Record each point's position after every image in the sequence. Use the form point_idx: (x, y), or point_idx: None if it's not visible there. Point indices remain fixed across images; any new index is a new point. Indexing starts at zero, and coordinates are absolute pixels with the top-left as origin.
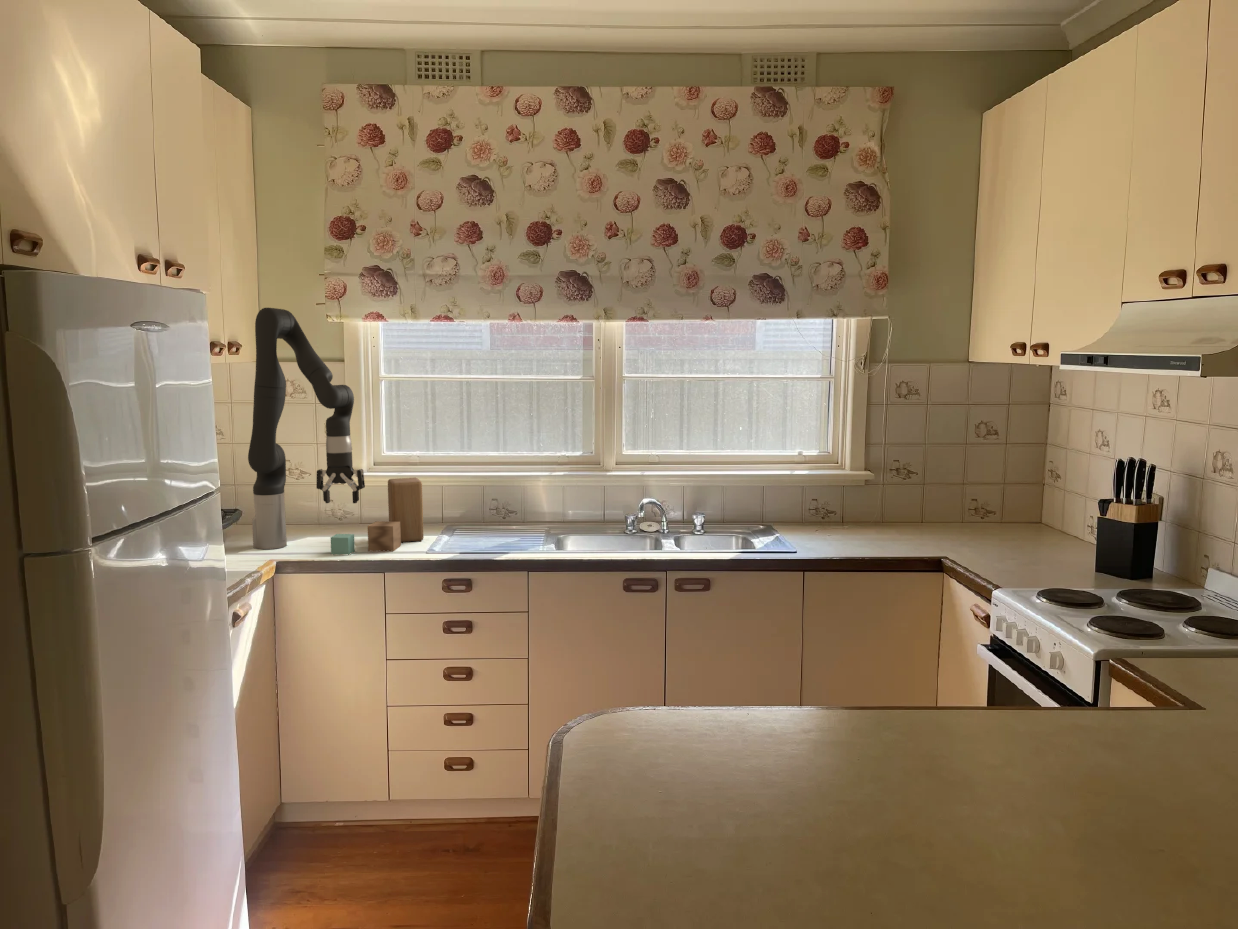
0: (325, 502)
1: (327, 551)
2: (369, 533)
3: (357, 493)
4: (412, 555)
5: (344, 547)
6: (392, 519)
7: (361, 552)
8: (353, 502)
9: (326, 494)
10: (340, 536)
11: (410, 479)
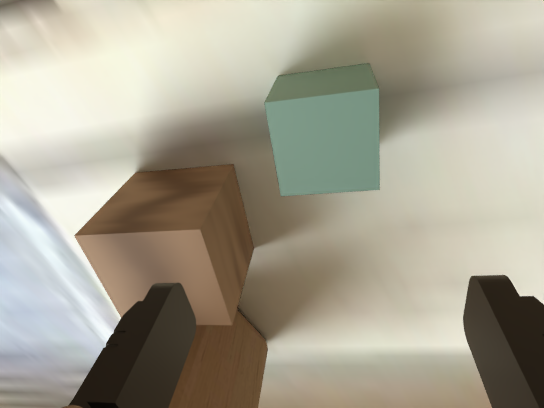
0: (505, 277)
1: (416, 133)
2: (203, 207)
3: (87, 386)
4: (18, 115)
5: (295, 83)
6: (190, 359)
7: (248, 136)
8: (167, 284)
9: (535, 373)
10: (327, 128)
11: None
